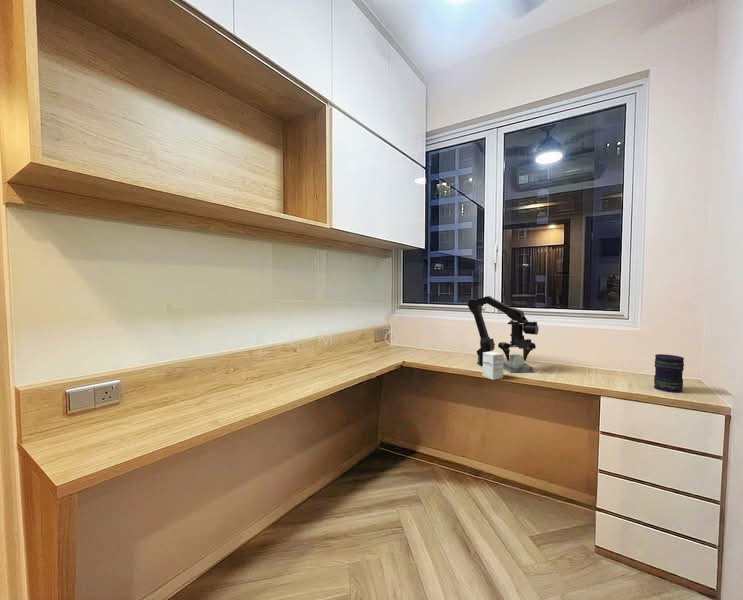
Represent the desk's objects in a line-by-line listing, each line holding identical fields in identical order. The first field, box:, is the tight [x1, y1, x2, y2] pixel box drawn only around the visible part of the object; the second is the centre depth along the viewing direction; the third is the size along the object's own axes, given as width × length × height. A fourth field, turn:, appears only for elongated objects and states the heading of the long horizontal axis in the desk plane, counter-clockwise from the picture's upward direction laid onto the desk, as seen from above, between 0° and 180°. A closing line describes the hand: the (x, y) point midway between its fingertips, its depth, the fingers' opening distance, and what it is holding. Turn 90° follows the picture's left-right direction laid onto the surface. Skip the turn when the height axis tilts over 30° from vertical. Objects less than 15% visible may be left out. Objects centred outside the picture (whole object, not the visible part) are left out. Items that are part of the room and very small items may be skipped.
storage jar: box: [653, 353, 685, 394], centre depth 152 cm, size 10×10×15 cm
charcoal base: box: [503, 361, 534, 374], centre depth 187 cm, size 12×12×3 cm
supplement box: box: [482, 350, 505, 381], centre depth 172 cm, size 7×7×13 cm
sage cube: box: [509, 354, 524, 366], centre depth 186 cm, size 5×5×5 cm
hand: (516, 361), depth 186 cm, fingers open, 9 cm apart
